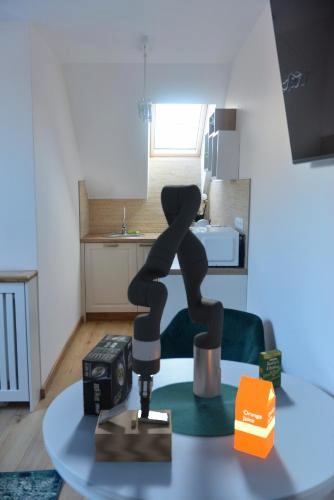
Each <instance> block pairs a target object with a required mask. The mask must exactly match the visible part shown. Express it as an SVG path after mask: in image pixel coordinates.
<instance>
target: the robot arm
mask: <svg viewBox="0 0 334 500" xmlns="http://www.w3.org/2000/svg"><path fill="white" fill-rule="evenodd" d="M160 204H161V208H162V211H163V214H164V217H165V218H164V219H165V220H166V223H167V226H168V227H167V228H166V229H165V230H164V231H163V232H161V233H160V235H158V236H157V238H156V239H155V240H154V242H153V243H152V245H151V247H150V248H149V251H148V255H147V257H146V260H145V263H144V264H143V265H142V267H141V268H140V269H139V270H138V272H136V274H135V275H134V277H133V278H132V279H131V281H130V283H129V285H128V287H127V292H126V293H127V300H128V302H129V303H130V304H132V305H133V306H135V307H137V306H138V307H142V308H143V307H144V308H148V309H149V312H148V313H142V314H138V315H136V316H135V318H134V319H133V336H132V373H134V374H136V375H138V379H137V381H138V382H137V386H138V396H139V404H140V410H141V416H149V410H150V404H151V396H152V395H153V394H152V392H153V386H154V375H157V374H158V373H159V372H160V369H161V349H162V348H161V322H162V317H163V314H164V311H165V307H166V304H167V301H168V297H169V291H168V288H167V286H166V284H165V283H164V282H161V281H157V280H156V279H163V278H166V277H168V276H169V274H170V272H171V268H172V266H173V264H174V261H175V257H176V258H177V261H178V265H179V270H180V272H181V277H182V281H183V284H184V290H185V297H186V302H187V311H188V316H189V318H190V321H191V322H192V323H193V324H196V325H199V326H204V327H207V331H204V332H200V333H197V334H196V335H195V336H194V338H193V371H192V372H193V374H192V375H193V381H192V382H193V386H192V387H193V388H192V392H193V394H194V395H196V397H198V398H199V397H200V398H205V399H209V398H210V399H212V398H216V397H220V396H222V368H221V358H222V357H221V354H222V352H221V351H222V338H223V331H224V330H223V329H224V316H225V315H224V314H225V313H224V312H225V309H224V305H223V303H222V301H220V300H217V299H212V298H208V297H207V298H206V297H204V296H203V295H202V291H201V285H202V283H203V282H204V280H205V278H206V276H207V273H208V271H209V261H208V260H209V259H208V255H207V251H206V248H205V246H204V244H203V242H202V241H201V240H200V239H199V238H198V237H197V236H196V234H195V233H194V232H193V231H192V230H191V229H190V227H191V225H192V224H193V222H194V220H195V218H196V216H197V215H198V214H199V212H200V211H199V210H200V208H201V205H202V192H201V189H200V188H199V186H198V185H197V184H195V183H171V184H165V185H164V186H163V187H162V189H161V191H160Z"/></svg>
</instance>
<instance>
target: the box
mask: <svg viewBox="0 0 334 500" xmlns="http://www.w3.org/2000/svg"><path fill="white" fill-rule="evenodd" d="M132 345H133V336H132V335H125V334H123V335H122V334H111V333H106V335H105V336H104V337H102V339H101V340H100V341H99V342H98V343H97V344H95V346H94V347H93V348H91V350H90V351H89V352H88V353H87V354H86V355H85V356H84V357H83V358H82V359H81V368H82V369H81V370H82V371H81V373H82V403H83V406H82V407H83V415H84V416H91V417H92V416H93V417H99V415H100V411H101V410H110V409H112V408H114V407H115V406H117V405H119V404H121V403H123V402H124V400H125V399H126V397H127V396H128V394H129V392H130V391H131V389H132V387H133V383H134V382H133V371H132Z"/></svg>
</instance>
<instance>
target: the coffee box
mask: <svg viewBox="0 0 334 500" xmlns="http://www.w3.org/2000/svg"><path fill="white" fill-rule="evenodd" d="M258 354H259V359H258V360H259V361H258V362H259V363H258V379H260V380H264V381H269V382H272V385H273V388H275V387H276V388H277V387H281V385H282V363H283V361H282V358H283V357H282V351H281V350H280V349H278V348H277V349H273V350H268V351H262V352H259V353H258Z"/></svg>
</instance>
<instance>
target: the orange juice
mask: <svg viewBox="0 0 334 500" xmlns="http://www.w3.org/2000/svg"><path fill="white" fill-rule="evenodd" d="M275 394H276V393H275V390H274V387H273V385H272V382H269V381H264V380H260V379H259V378H255V377H251V376H248V375H242V374H241V376H240V381H239V384H238V388H237V392H236V397H235V408H234V409H235V414H234V416H235V417H234V418H235V419H234V441H233V442H234V444H233V445H234V446H233V448H234V449H235V450H237V451H240V452H244V453H246V454H248V455H249V454H250V455H253V456H255V457H258V458H262V459H266V458H267V456H268V454H269V453H270V452H271V450H272V448H273V445H274V440H275V424H276V423H275V421H276V415H275V414H276V395H275Z"/></svg>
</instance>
